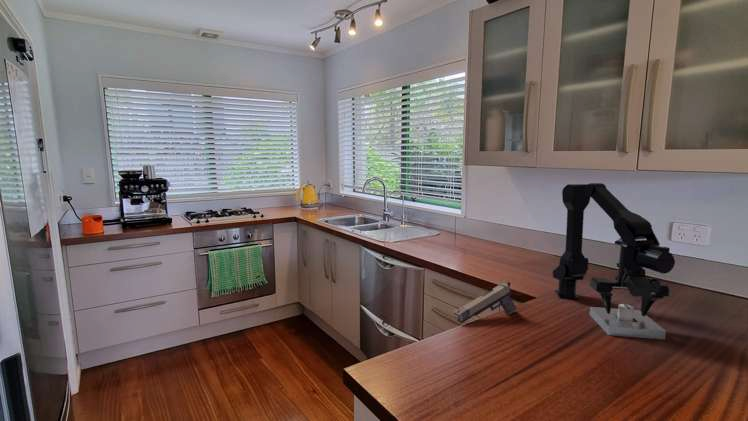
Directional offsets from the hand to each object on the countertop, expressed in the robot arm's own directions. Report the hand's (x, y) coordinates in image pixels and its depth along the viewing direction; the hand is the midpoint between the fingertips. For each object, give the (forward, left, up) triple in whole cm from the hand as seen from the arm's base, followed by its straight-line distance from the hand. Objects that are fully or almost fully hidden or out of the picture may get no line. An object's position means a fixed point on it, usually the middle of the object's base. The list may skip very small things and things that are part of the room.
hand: (625, 314), depth 110 cm
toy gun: (+1, -39, -4) cm, 39 cm away
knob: (0, 0, -4) cm, 4 cm away
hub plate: (0, 0, -4) cm, 4 cm away
